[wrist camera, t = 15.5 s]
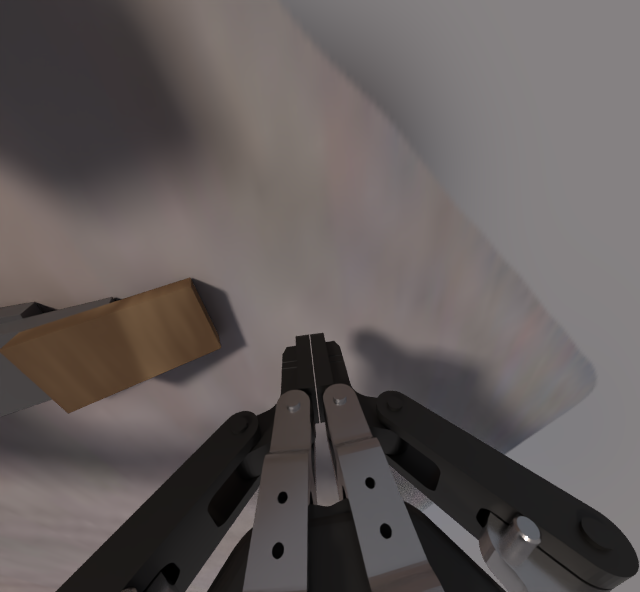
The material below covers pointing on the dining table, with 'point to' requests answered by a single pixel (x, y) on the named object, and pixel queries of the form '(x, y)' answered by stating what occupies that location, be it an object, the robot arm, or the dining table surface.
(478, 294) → the dining table surface
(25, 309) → the domino
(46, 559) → the dining table surface
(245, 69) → the dining table surface
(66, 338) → the domino
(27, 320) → the domino
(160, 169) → the dining table surface
